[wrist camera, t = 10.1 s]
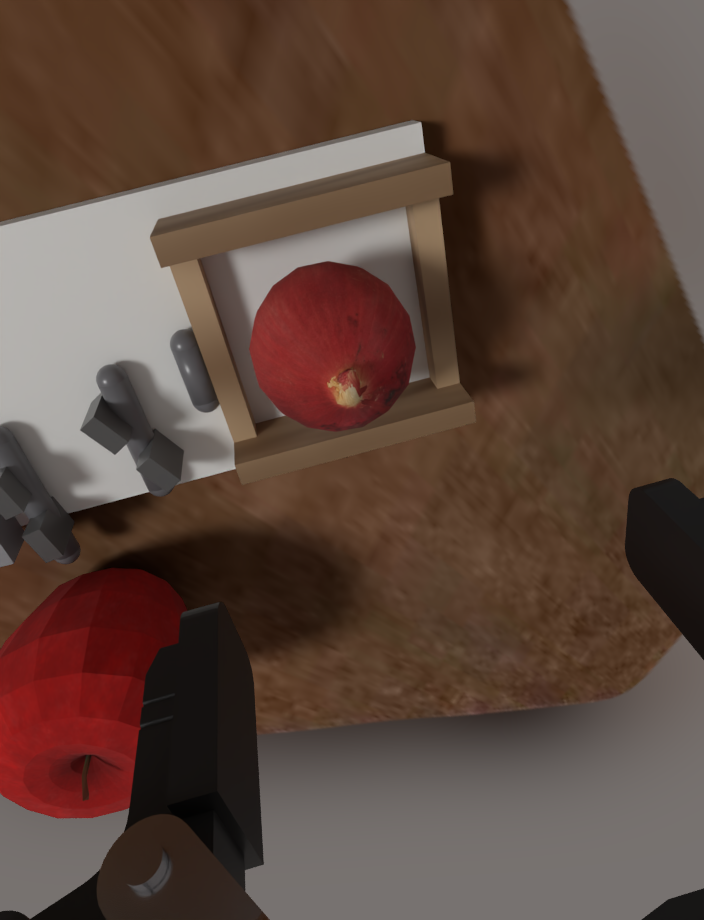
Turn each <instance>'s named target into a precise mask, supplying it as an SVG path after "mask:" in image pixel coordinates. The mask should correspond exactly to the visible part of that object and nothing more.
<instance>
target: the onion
mask: <svg viewBox="0 0 704 920" xmlns="http://www.w3.org/2000/svg"><path fill="white" fill-rule="evenodd" d="M415 349H416V345H415V340H414V335H413V330H412V325H411V320H410V316H409V314H408V313H407V311H406V310H405V308H404V307H403V305H402V304H401V302H400V301H399V300H398V298H397V297H396V295H395V294H394V292H393V291H392V289H391V288H390V286H389V285H388V284H387V283H385V282H383V281H382V280H380V279H379V278H377V277H376V276H374V275H372V274H371V273H369V272H368V271H366V270H364V269H363V268H360V267H358V266H353V265H347V264H342V263H336V262H331V261H325V262H321V263H316V264H311V265H307V266H302V267H297V268H296V269H295V270H293V271H292V272H291V273H289V274H288V275H287V276H285V277H284V278H283V279H281V280H280V281H279V282H277V283H276V284H274V285H273V286H272V288H271V289H270V291H269V292H268V294H267V296H266V297H265V299H264V301H263V302H262V304H261V305H260V307H259V309H258V310H257V313H256V316H255V320H254V325H253V330H252V336H251V341H250V347H249V351H250V355H251V359H252V363H253V367H254V371H255V375H256V378H257V381H258V384H259V387H260V388H261V389H262V391H263V392H264V393H265V394H266V395H267V397H268V398H269V399H270V400H271V401H272V403H273V404H274V405H275V406H276V407H277V408H278V410H279V411H280V412H282V413H283V414H284V415H286V416H287V417H289V418H291V419H293V420H295V421H297V422H298V423H300V424H302V425H304V426H306V427H307V428H313V429H320V430H326V431H333V432H338V431H344V430H349V429H355V428H360V427H364V426H365V425H367V424H369V423H370V422H372V421H373V420H375V419H377V418H378V417H380V416H381V415H383V414H385V413H386V412H388V411H389V410H390V408H391V407H392V406H393V404H394V403H395V402H396V401H397V399H398V398H399V397H400V395H401V394H402V393H403V391H404V390H405V389H406V387H407V386H408V385H409V380H410V375H411V370H412V364H413V359H414V354H415Z"/></svg>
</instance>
